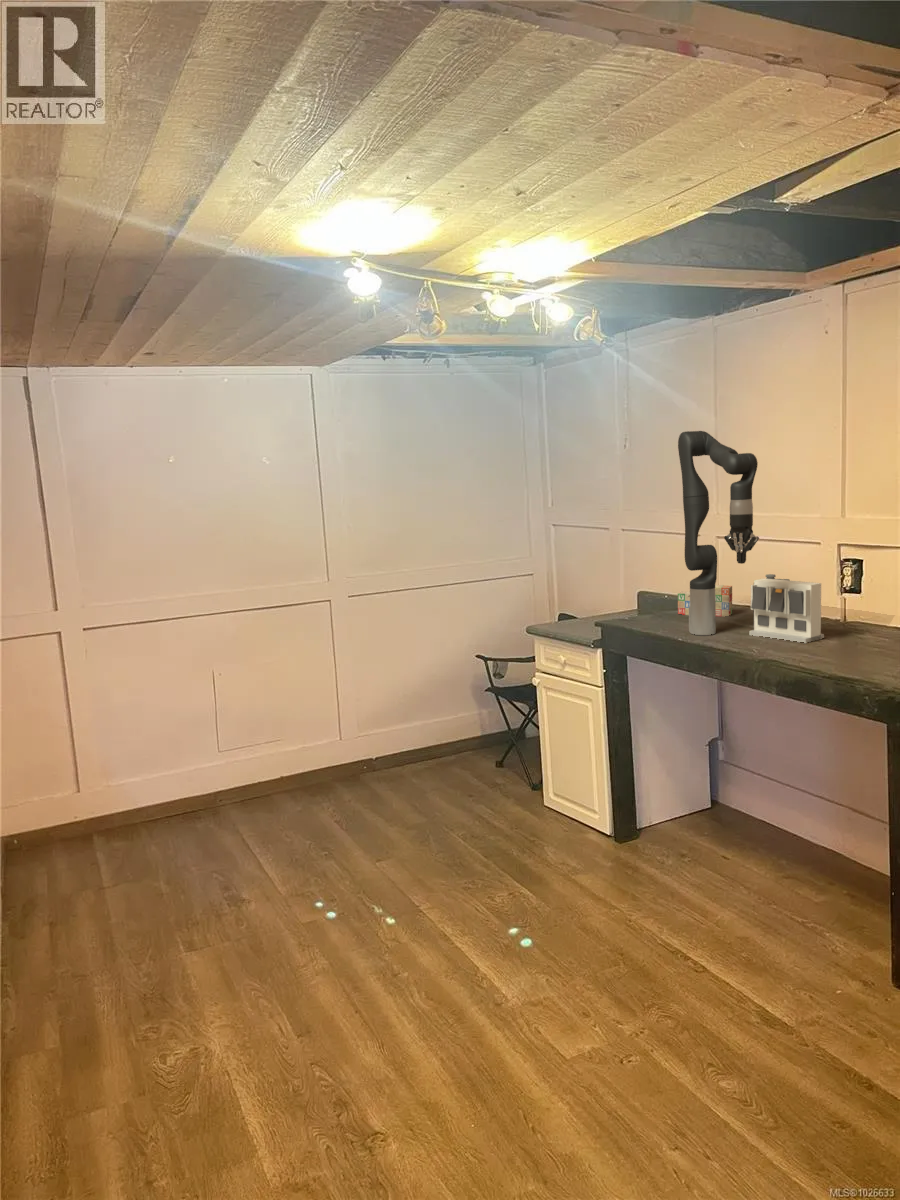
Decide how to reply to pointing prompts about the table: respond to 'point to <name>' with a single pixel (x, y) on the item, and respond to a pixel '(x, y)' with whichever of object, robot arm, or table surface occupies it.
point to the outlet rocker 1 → (777, 600)
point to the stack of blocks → (721, 601)
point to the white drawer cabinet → (789, 612)
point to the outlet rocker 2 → (796, 601)
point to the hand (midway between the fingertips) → (741, 563)
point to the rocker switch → (759, 598)
